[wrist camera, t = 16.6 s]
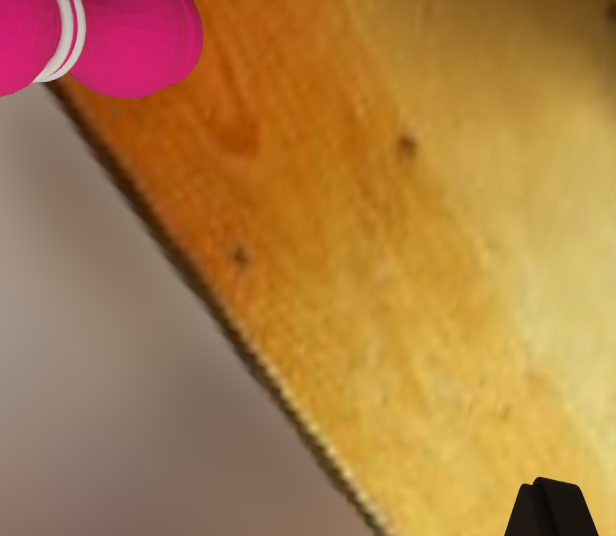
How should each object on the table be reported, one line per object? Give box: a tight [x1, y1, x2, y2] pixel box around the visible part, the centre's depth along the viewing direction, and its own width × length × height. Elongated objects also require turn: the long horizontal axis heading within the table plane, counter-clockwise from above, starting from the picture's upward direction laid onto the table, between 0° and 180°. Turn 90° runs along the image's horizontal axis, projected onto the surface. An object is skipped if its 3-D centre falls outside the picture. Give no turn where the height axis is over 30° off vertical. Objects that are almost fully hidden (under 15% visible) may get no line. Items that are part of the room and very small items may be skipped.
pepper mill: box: [0, 0, 203, 98], centre depth 26 cm, size 7×7×20 cm
